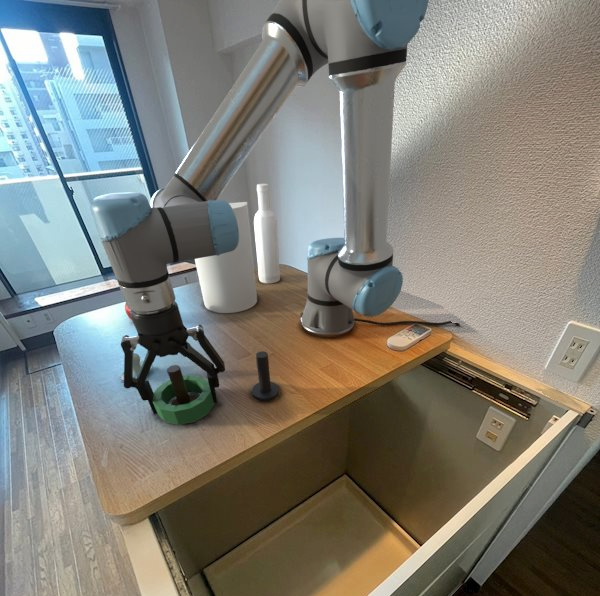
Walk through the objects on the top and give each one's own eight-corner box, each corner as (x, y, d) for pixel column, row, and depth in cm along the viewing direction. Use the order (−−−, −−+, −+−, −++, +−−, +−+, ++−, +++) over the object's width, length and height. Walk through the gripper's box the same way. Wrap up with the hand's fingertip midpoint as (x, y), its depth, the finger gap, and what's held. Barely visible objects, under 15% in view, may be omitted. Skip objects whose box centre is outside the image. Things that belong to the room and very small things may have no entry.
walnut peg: (200, 396, 71) (189, 357, 64) (201, 414, 67) (189, 374, 60) (171, 401, 70) (157, 362, 63) (170, 419, 65) (155, 380, 59)
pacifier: (116, 381, 76) (135, 387, 73) (104, 358, 72) (124, 364, 69) (140, 364, 81) (158, 369, 78) (130, 342, 77) (149, 347, 74)
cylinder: (262, 308, 103) (252, 207, 85) (206, 316, 99) (184, 212, 81) (252, 288, 116) (242, 196, 97) (202, 294, 112) (182, 200, 94)
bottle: (281, 276, 124) (277, 182, 105) (278, 284, 118) (273, 186, 99) (261, 275, 125) (252, 182, 105) (257, 283, 119) (247, 186, 99)
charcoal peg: (276, 382, 74) (273, 344, 68) (282, 399, 70) (279, 360, 63) (250, 387, 73) (244, 349, 67) (254, 404, 69) (249, 365, 62)
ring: (211, 384, 73) (208, 371, 71) (215, 417, 65) (212, 404, 63) (159, 393, 71) (154, 380, 69) (157, 429, 63) (151, 415, 60)
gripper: (68, 326, 48) (123, 428, 63) (227, 304, 53) (245, 404, 67) (79, 305, 54) (128, 403, 68) (223, 287, 58) (240, 383, 73)
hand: (186, 404), depth 68 cm, fingers closed on ring, 11 cm apart
